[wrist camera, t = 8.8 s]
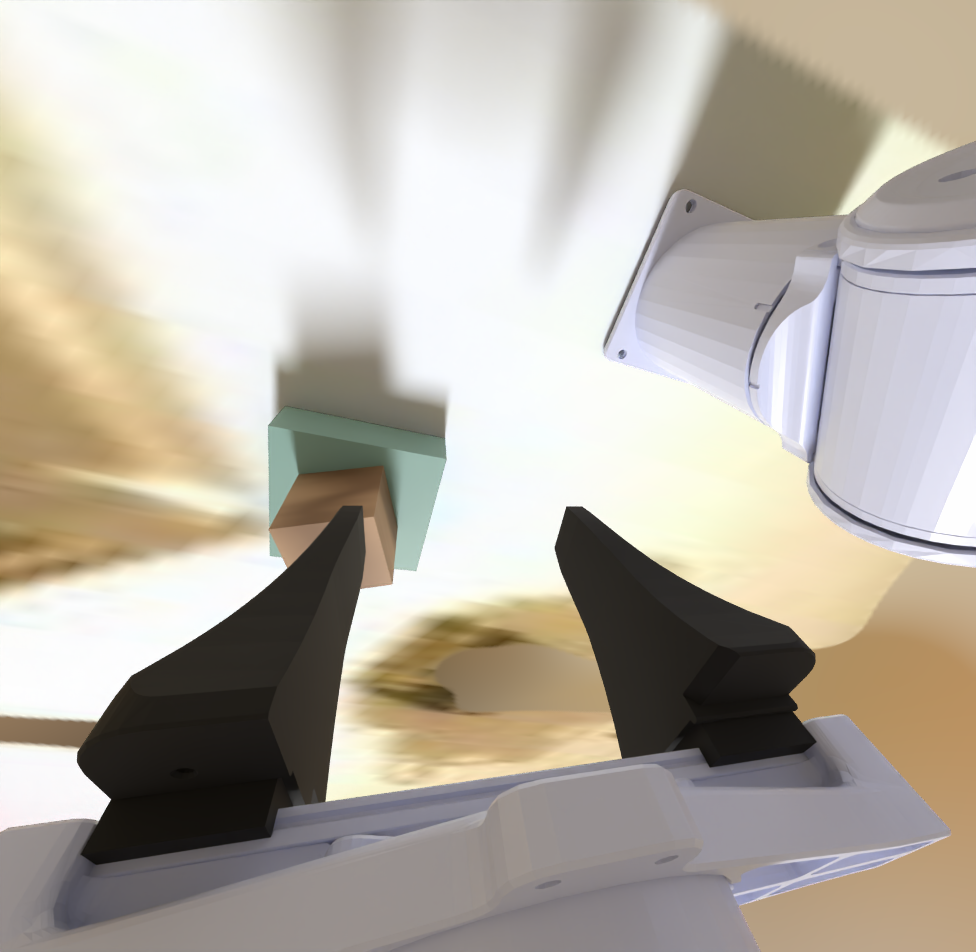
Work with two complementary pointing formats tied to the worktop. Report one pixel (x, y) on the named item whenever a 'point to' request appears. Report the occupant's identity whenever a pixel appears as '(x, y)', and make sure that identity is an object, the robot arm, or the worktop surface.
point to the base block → (355, 444)
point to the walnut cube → (321, 500)
